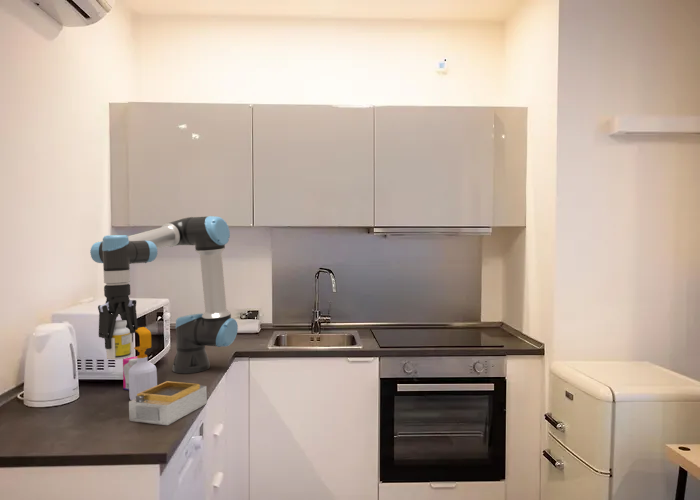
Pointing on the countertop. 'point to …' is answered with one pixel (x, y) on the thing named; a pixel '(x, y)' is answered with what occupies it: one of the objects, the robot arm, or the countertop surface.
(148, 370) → the spray bottle
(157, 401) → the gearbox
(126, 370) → the supplement box
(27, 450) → the countertop surface
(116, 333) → the pill bottle
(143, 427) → the countertop surface
